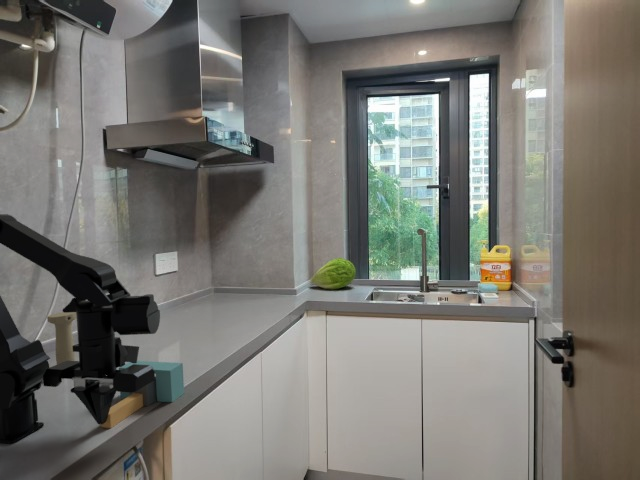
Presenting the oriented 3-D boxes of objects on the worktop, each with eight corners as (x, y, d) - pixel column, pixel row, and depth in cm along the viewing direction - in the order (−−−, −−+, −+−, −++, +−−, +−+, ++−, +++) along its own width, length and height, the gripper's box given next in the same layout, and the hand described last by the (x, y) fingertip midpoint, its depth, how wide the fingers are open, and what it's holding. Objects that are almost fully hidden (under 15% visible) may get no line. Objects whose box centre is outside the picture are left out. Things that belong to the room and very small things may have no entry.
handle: (85, 372, 106) (81, 312, 105) (59, 381, 100) (55, 317, 99) (73, 369, 108) (69, 310, 107) (47, 378, 102) (42, 316, 101)
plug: (115, 428, 76) (114, 403, 76) (96, 426, 77) (95, 402, 77) (162, 395, 89) (161, 374, 89) (145, 394, 90) (144, 373, 90)
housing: (172, 402, 86) (170, 370, 86) (120, 398, 89) (118, 367, 89) (184, 393, 90) (182, 363, 90) (134, 389, 93) (132, 360, 93)
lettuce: (308, 297, 215) (323, 294, 229) (351, 284, 204) (364, 282, 218) (300, 268, 218) (315, 267, 232) (342, 254, 207) (356, 254, 221)
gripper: (170, 325, 80) (175, 407, 81) (87, 323, 85) (92, 400, 85) (130, 342, 69) (136, 436, 70) (37, 338, 74) (43, 427, 75)
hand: (102, 423), depth 75 cm, fingers closed, pressing on plug
